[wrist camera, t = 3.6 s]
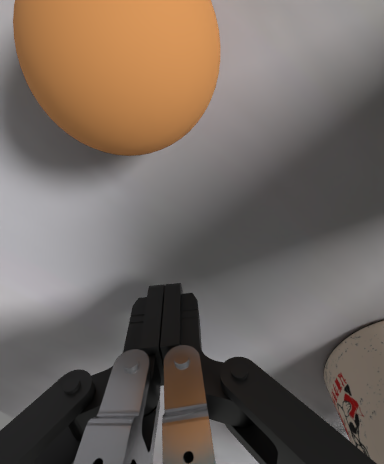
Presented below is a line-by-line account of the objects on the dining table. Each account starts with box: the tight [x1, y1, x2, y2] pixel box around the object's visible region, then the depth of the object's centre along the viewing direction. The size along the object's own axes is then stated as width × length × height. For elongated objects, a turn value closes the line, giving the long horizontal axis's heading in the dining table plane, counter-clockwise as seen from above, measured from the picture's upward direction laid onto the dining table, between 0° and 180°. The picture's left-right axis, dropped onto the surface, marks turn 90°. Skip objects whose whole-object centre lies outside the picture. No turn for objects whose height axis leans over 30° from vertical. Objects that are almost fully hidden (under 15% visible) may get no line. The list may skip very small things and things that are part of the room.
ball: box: [13, 0, 220, 156], centre depth 9 cm, size 6×6×6 cm
